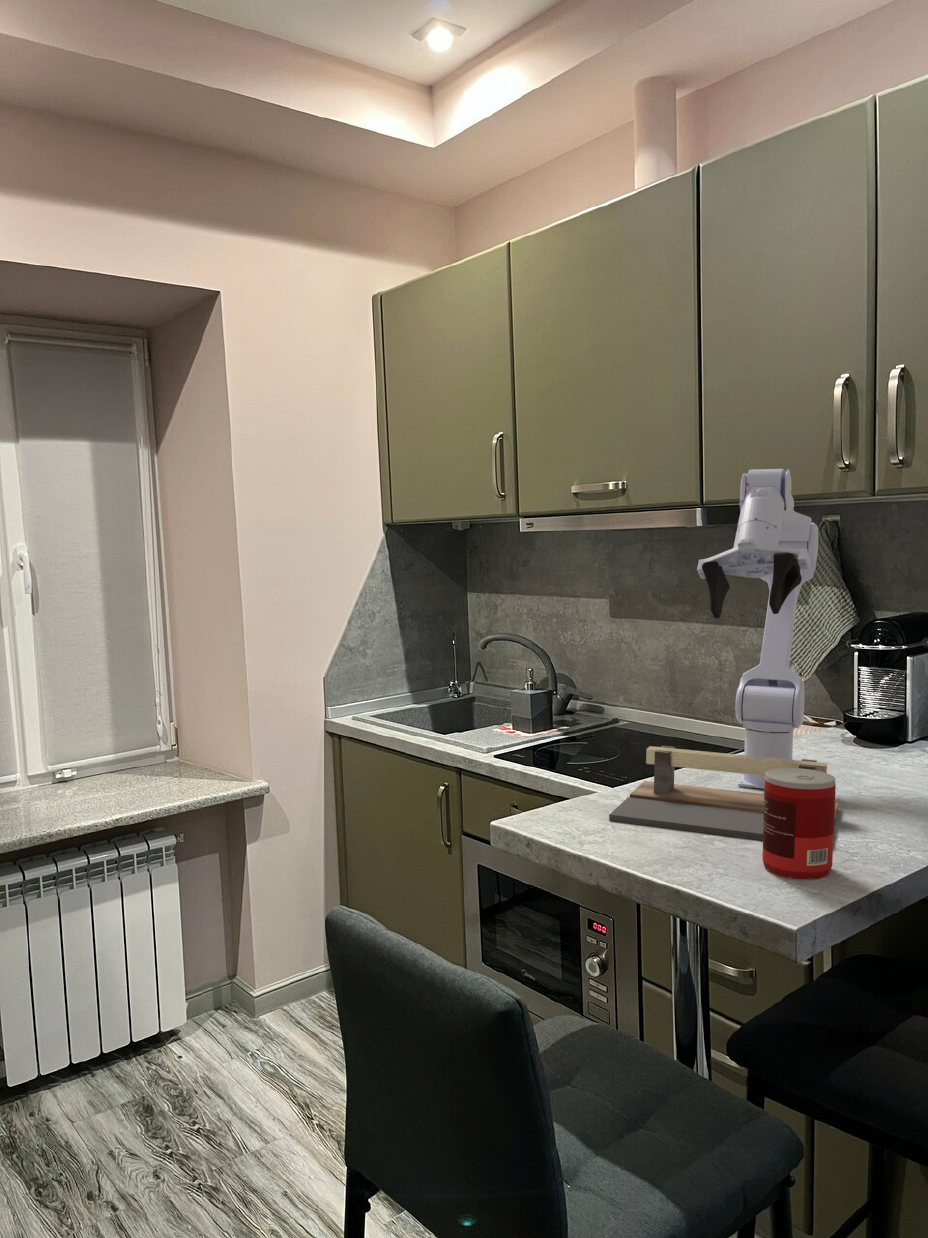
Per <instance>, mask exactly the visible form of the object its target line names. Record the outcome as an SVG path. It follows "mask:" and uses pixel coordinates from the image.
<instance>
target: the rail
mask: <svg viewBox="0 0 928 1238" xmlns="http://www.w3.org/2000/svg"><path fill="white" fill-rule="evenodd" d="M655 751H666V752H670V754H669V766H674V768H684V769H695V770H705V771H714V772H715V771H716V772H723V773H732V774H733V773H735V774H742V775H744V774H752V775H761V776H766V772H767V771H770V770H773V769H779V768H799V764H801V765H811V766H815V770H816V771H821V772H825V773H827V774H828V765H829V764H828V762H819V761H817V762H810V761H801V760H800V759H799V760H798V759H792V760H789V759H779V758H768V757H758V756H747V755H744V754H736V753H726V752H724V753H723V752H713V751H702V750H693V749H692V750H691V749H684V748H683V749H681V748H675V749H674V748H663V747H661V746H651V745H649V746H648V747H647V748H646V753H645V755H646V760H645V763H646V764H647V765H654V761H655Z"/></svg>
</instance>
